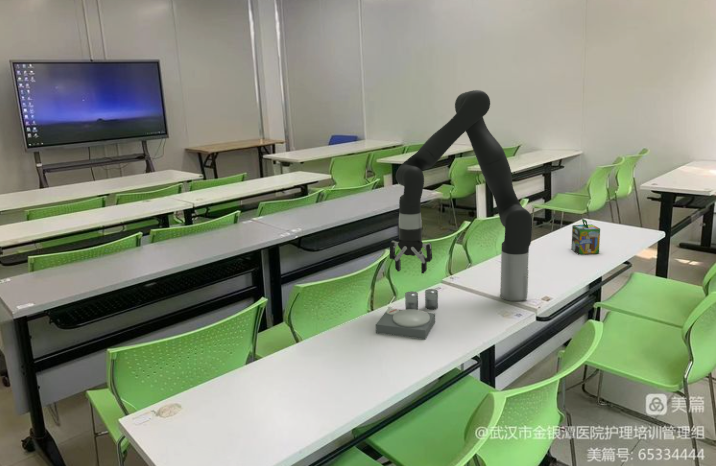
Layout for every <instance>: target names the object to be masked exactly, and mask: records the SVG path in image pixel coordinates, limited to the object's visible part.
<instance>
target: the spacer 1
mask: <svg viewBox="0 0 716 466" xmlns="http://www.w3.org/2000/svg"><path fill="white" fill-rule="evenodd" d="M404 297H405V298H404V302H405V305H404V306H405V309H404V310H407V309H416V310H419V293H418V292H416V291H411V290H410V291H406V292H404Z"/></svg>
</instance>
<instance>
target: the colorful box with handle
mask: <svg viewBox="0 0 716 466" xmlns="http://www.w3.org/2000/svg"><path fill="white" fill-rule="evenodd" d="M581 221H582V224H572V230H571V246H570V247H571V250H572V251H573V250H574V253H576V254H577V253H578V254H577V255H579V254H581V255H590V254H591V255H592V254H593V255H594V254H600V245H601V244H600V239H601V228H600V227H598V226H596V225H594V224H588V221H587V220H586V219H584V218H581Z"/></svg>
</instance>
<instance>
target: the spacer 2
mask: <svg viewBox="0 0 716 466" xmlns="http://www.w3.org/2000/svg"><path fill="white" fill-rule="evenodd" d="M424 307H425V309H426V310H430V311H435V310H437V309H438V308H439V291H438V290H437V289H435V288H427V289H425V291H424Z"/></svg>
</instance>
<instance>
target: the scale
mask: <svg viewBox="0 0 716 466" xmlns="http://www.w3.org/2000/svg"><path fill="white" fill-rule="evenodd" d="M435 324H436V313H434V312H426V311H424V310H420V309H418V310H416V309H407V310H405V309H398V308H390V307H389V308H387V309H386V311H385V312H384V313H383V314H382V316H381V317H380V318H379V319H378V321H377V322H375V333H376V334H381V335H389V336H396V337H404V338H412V339H413V338H414V339H418V340H420V339H421V340H426V339H427V338H428V336H429V334H430V332H431V330H432V329H433V327H434V325H435Z"/></svg>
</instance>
